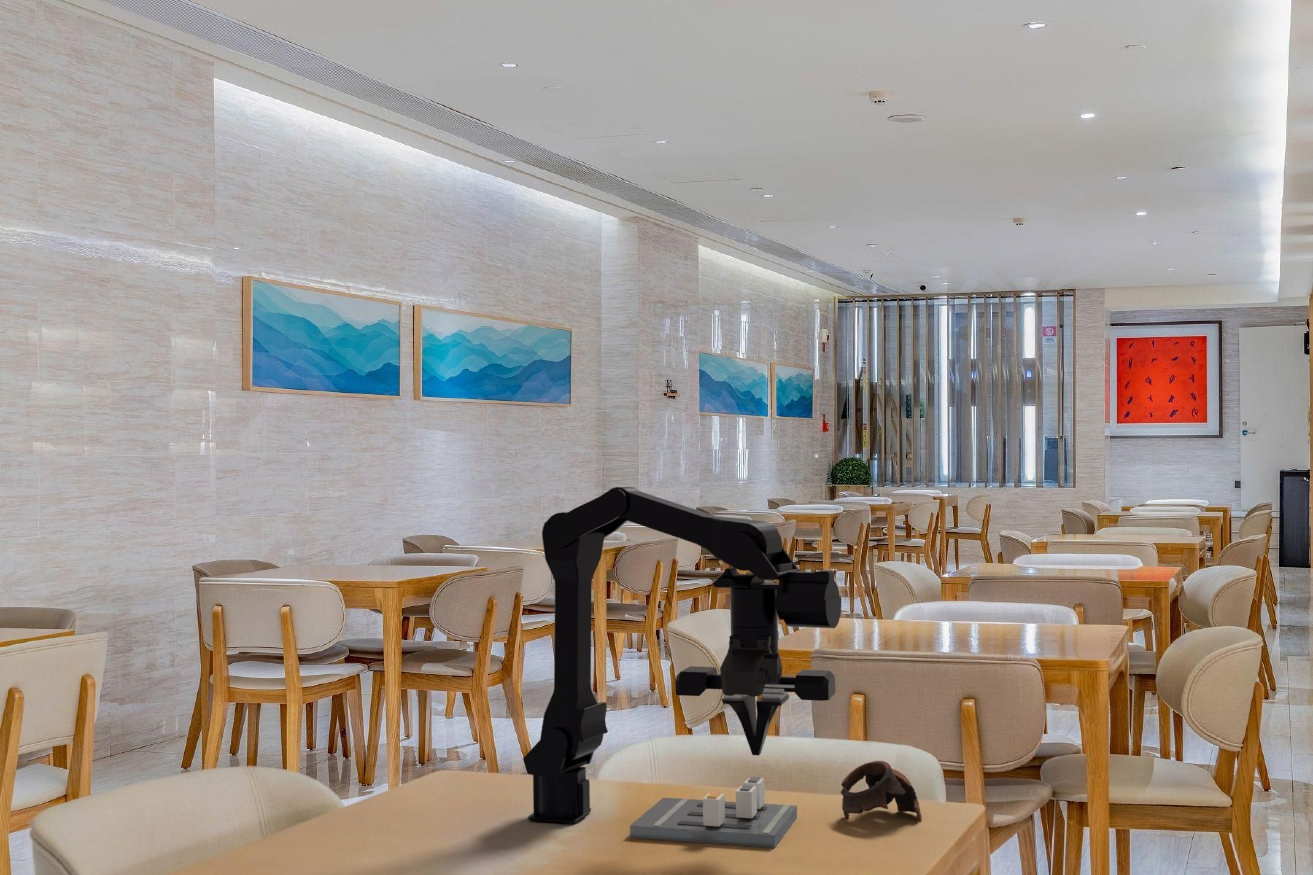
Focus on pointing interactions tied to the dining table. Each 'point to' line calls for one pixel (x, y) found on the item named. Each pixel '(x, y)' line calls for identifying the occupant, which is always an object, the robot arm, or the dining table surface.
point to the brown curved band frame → (878, 790)
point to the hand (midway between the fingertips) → (756, 754)
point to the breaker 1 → (713, 809)
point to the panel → (686, 825)
